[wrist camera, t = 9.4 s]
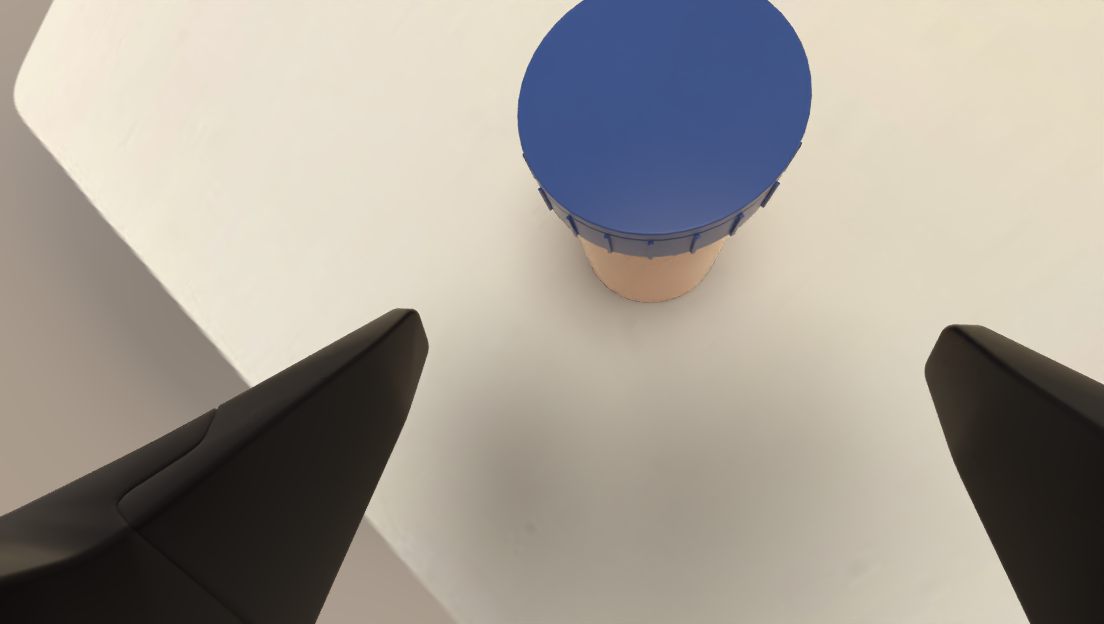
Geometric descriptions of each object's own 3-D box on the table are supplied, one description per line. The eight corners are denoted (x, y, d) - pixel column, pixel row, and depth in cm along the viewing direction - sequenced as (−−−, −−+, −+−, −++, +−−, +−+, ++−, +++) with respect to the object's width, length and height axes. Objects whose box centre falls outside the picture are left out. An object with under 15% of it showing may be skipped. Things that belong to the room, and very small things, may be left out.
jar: (668, 328, 21) (690, 270, 10) (561, 257, 22) (490, 145, 12) (745, 220, 21) (842, 57, 11) (634, 156, 22) (624, -40, 12)
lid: (712, -15, 13) (723, -81, 11) (841, 186, 12) (877, 148, 10) (498, 99, 14) (475, 55, 12) (591, 302, 12) (582, 287, 10)
